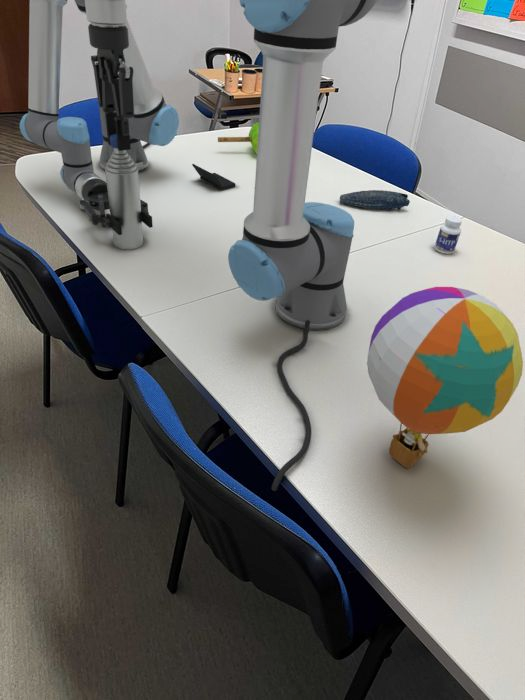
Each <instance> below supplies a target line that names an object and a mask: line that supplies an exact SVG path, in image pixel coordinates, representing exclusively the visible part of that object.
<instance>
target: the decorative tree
mask: <svg viewBox="0 0 525 700" xmlns="http://www.w3.org/2000/svg"><path fill="white" fill-rule="evenodd" d="M258 131H259V121H258V122H256V123H254V124H252V125H251V128H250V130H249V133H248V136H218V137H217V143H250V144H251V147H252V149H253V151H254V153H255V155H257V146H258Z"/></svg>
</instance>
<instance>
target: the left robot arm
mask: <svg viewBox="0 0 525 700" xmlns="http://www.w3.org/2000/svg"><path fill="white" fill-rule="evenodd" d="M74 3H75V5H76V6H77V10H78V11H79V12H81V13H83V14H85V15H86V7H85V0H74ZM66 4H68V0H29V15H28V16H29V19H28V21H29V23H28V24H29V25H28V27H29V29H28V33H29V34H28V51H29V52H28V110H27V113H25V114H24V115H23V116H22V117H21V120H20V121H19V130H20V133H21V135H22V137H23V138H24V139H26V141H29V142H31V143H33V144H35V145H37V146H40V147H43V148H47V149H49V150H52V151H54V152H58V153H59V154H61V159H62V166H61V169H60V172H59V173H60V174H59V175H60V178H61V181H62V182H63V184H64V185H65V186H66V187H67V188H68V190H70V191H72V192H73V193H74V194H75V195H76V196H78V197H79V198H80V200H79V208H80V211H81V212H82V213H84V214H85V215H86V217H87V219H89V221H90V222H91V223H92V225H94V226H97V225H99V224H100V225H101V227H102V228H108V229H111V230H112V229H113V230H114V231H115V232H116V233H117V234H118V235H122V229H121V223H119V222H118V221H117V220H116V219H115V218H114V217H112V216H111V215H110V213H106V210H110V207H109V199H108V190H107V181H105V180H103V179H102V178H101V177H100V176H98V175H97V174H96V173H95V172H94V171H95V170H94V164H93V158H92V148H91V141H90V138H91V136H90V133H89V129H88V124H87V121H86V120H85V119H83V118H81V117H79V116H77V117H76V116H64V117H60V118H59V111H60V85H61V83H60V82H61V63H62V61H61V60H62V36H63V34H62V33H63V8H64V7H65V6H66ZM124 26H126V27H127V28H128V38H129V47H128V48H126V49H124V50H123V54H124V58H125V64H126V65H127V67H132V68H133V79H132V82H133V102H134V118H130V119H129V120H128V122H129V134H130V146H131V149H129V150H126V152H128V155H130V156H131V159H133V161H134V162H135V163H136V166H137V168H138V173H140V172H142V171H144V170H146V169H147V168H148V166H149V164H148V157H147V154H146V152H145V148H146V147H148V146H149V145H153V146H159V147H165V146H168V145H169V144H171V142H172V141H173V140H174V139H175V137H176V136H177V132H178V130H179V125H180V117H179V113H178V111H177V109H176V108H175V107H174V106H172V105H170V104H167V103H166V101H165V98H164V96H163V93H162V91H161V90H160V89H159V88H157V87H154V85H153V81H152V79H151V76H150V74H149V72H148V69H147V66H146V64H145V62H144V59H143V56H142V53H141V51H140V49H139V46H138V43H137V41H136V38H135V36H134V34H133V30H132V28H131V25H130V23H129V20H127V22H126V23H125V24H124ZM117 79H119V78H117ZM102 101H103V100H102ZM98 110H99V111H98V113H99V118H100V125H101V126H100V127H101V135H102V145H101V150H100V155H99V166H100V168H101V169H102V170H104V171H105V167H106V163H107V162H108V160H109V159H110V156H111V155H112V152H114V148H112V147H111V146H110V145H109V144H108V136H107V127H106V118H105V113H104V111H103V108H102V107H99V104H98ZM114 112H116V111H114ZM142 142H144V144H142ZM140 203H141V216H142V224H145V225H146V226H147V227H148V228H149V229H150V228H151V229H152V228H153V226H154V225H153V216H152V215H151V214H150V212H149V204H148V202H146V201H144V200H142V199H141V198H140ZM96 211H98V212H99V214H97V213H96Z"/></svg>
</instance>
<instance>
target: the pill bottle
mask: <svg viewBox="0 0 525 700" xmlns="http://www.w3.org/2000/svg"><path fill="white" fill-rule="evenodd" d="M462 222H463V219H461V218H460V217H458V216H455V215H448V216H446V218H445V220H444V223H443V224H442V225H440V228H439V231H438V234H437V237H436V240H435V243H434V250H435V251H437V252H439V253H441V254H447V255H449V254H453V253H454V252H455V250H456V247H457V244H458V242H459V239H460V236H461V233H462V229H461V225H462Z"/></svg>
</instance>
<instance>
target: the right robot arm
mask: <svg viewBox="0 0 525 700" xmlns="http://www.w3.org/2000/svg"><path fill="white" fill-rule="evenodd" d="M238 1H239V5H240V7H242V8H243V12H242V13H243V16H244V17H245V19H246V20H247V22H248V24H250V25H251V27H253V28H254V29H253V43H254V44H255V45H256V47H257V48H258V49H259V50H260V52H261V53H262V71H261V85H260V99H259V100H260V101H259V117H258V122H259V131H258V146H257V154H256V161H255V163H256V164H255V178H254V193H253V207H252V212H250V213H249V214H247V216H246V217H245V218H244V220H243V230H242V239H237V240H236V241H235V242H234V244H232V245H231V246H230V248H229V250H228V255H227V257H228V260H227V261H228V266H229V267H228V268H229V270H230V273H231V275H232V278H233V279H234V281H235V282H236V284H237V285H238V287H239V288H240V289H241V290H242V291H243V293H245V294H246V295H247V296H248V297H251V298H252V299H254V300H256V301H261V302H266V301H270V300H272V299H275V298H276V300H275V311H276V313H277V315H278V316H279V317H280V318H281V319H282V320H283V321H284V322H286V323H287V324H289V325H291V326H293V327H296V328H300V329H303V334H302V340H301V341H300V343H298V344H297V345H296V346H294V347H292V348H290V349H288V350H285V351H284V352H283V353H282V354H281V355H280V356H279V357H278V360H277V362H276V363H277V364H276V369H277V375H278V377H279V380H280V382H281V383H282V386H283V388H284V390H285V392H286V394H287V395H288V396H289V398H290V399H291V400H292V401H293V402H294V403H295V405H296V406H297V408H298V410H299V411H300V413H301V416H302V419H303V423H304V429H305V434H304V439H303V443H302V446H301V448H300V450H299V451H298V452H297V453H296V454H295V455H294V456H292V458H290V459H289V460H288V461H287V462H286V463H284V464H283V466H281V467H280V469H279V470H278V472H277V474H276V475H275V477H274V479H273V481H272V483H271V487H270V488H271V489H270V490H271V491H273V492H276V491H278V489H279V486H280V484H281V481H282V479H283V478H284V476H285V474H286V473H287V472H288V471H289V470H290V469H291V468H292V467H293V466H295V464H297V463H298V462H299V461H300V460H301V459H303V458H304V456H305V455H306V453H307V451H308V449H309V447H310V442H311V439H312V425H311V420H310V416H309V414H308V411H307V409H306V407H305V405H304V404H303V403H302V401H301V399H299V397H298V396H297V395H296V394H295V392H294V391H293V390H292V388H291V386H290V385H289V382H288V380H287V378H286V376H285V372H284V369H283V364H284V360H285V359H286V358H287V357H289V356H291V355H293V354H294V353H297V352H298V351H300V350H301V349H303V348H304V347H305V346H306V344H307V343H308V340H309V331H324V330H325V331H326V330H329V329H333V328H336V327H337V326H339V325H340V324H342V323H343V322H344V320H345V318H346V315H347V310H348V307H347V306H348V305H347V297H346V292H345V286H344V280H345V275H346V271H347V267H348V261H349V257H350V253H351V252H350V251H351V246H352V242H353V238H354V231H355V229H354V228H355V219H354V218H353V215H352V214H350V213H349V212H348V211H346V210H345V209H343V208H340V207H338V206H335V205H332V204H328V203H324V202H316V201H307V202H306V196H307V188H308V180H309V173H310V164H311V157H312V150H313V149H312V148H313V142H314V135H315V127H316V121H317V120H316V119H317V112H318V103H319V96H320V88H321V81H322V73H323V64H324V61H325V60H326V58H328V56H330V55H331V54H332V53H333V52H334V51H335V50H336V48H337V40H338V35H339V27H347V26H350V25H352V24H355V23H357V22H359V21H360V20H362V19H363V18H364V17H365V16H366V15H368V13H370V12H371V10H372V9H373V8H374V6H375V5H376V3H377V1H378V0H238ZM85 7H86V14H85V15H86V20H87V22H89V24H88V26H87V28H88V29H87V30H88V38H89V45H90V46H91V47H92V48H95V49H96V50H97V51H96V55H91V56H90V60H91V61H90V62H91V64H92V67H93V74H94V82H95V89H96V97H97V103H98V105H99V106H98V108H99V107H102V108H103V111H104V113H105V118H106V127H107V136H108V144H109V145H110V135H113V134H117V145H118V150H119V151H123V150H129V149H131V146H130V134H129V122H128V120H129V119H130V118H134V102H133V82H132V79H133V68H132V67H127V65H126V64H125V58H124V54H123V50H124V49H126V48H128V47H129V38H128V28H127V27H126V26H124V24H125V23H126V22H127V21H128V18H127V17H128V16H127V8H128V4H126V0H85ZM117 78H119V79H117ZM102 100H103V101H102ZM114 111H116V112H114Z"/></svg>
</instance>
